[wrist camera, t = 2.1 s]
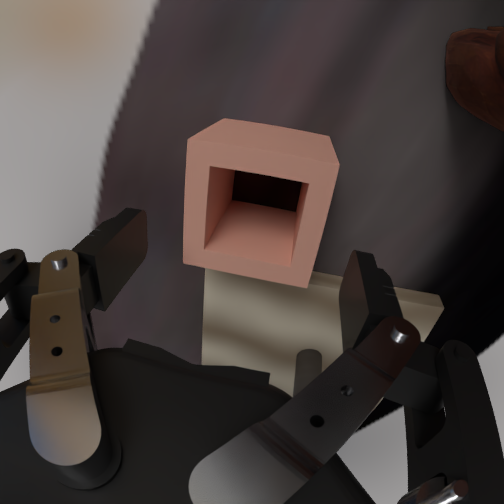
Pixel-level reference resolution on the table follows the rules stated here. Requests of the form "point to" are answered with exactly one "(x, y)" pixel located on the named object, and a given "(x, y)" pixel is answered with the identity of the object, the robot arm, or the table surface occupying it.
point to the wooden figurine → (478, 72)
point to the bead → (252, 215)
